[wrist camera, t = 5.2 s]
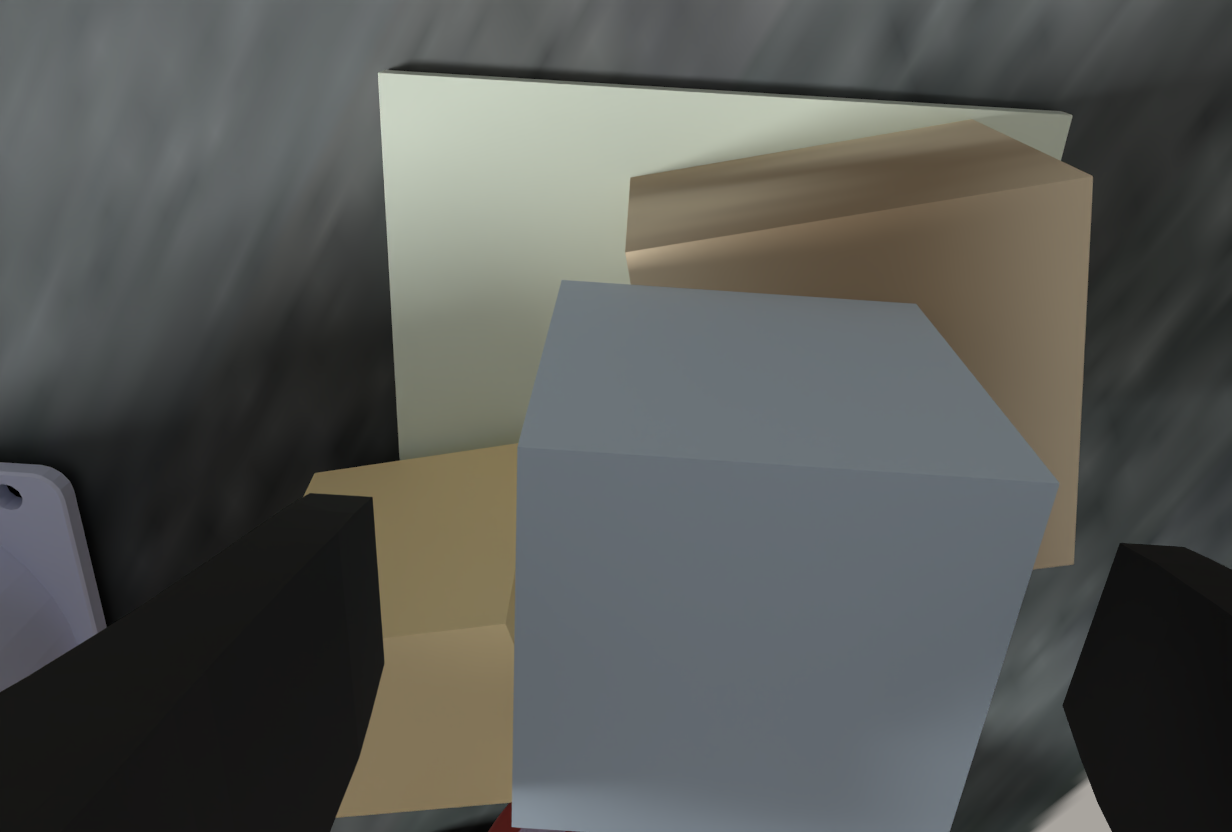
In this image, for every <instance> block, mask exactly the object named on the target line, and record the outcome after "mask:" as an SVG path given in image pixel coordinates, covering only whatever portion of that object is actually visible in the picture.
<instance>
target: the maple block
mask: <svg viewBox="0 0 1232 832" xmlns="http://www.w3.org/2000/svg"><path fill="white" fill-rule="evenodd" d="M1092 190H1093V176H1092V175H1090V174H1087V173H1085V172H1083V171H1081V170H1079V169H1077V168H1075V167H1073V166H1071V165H1068V164H1066V163H1064V162H1062V161H1060V160H1058V159H1056V158H1054V157H1051V156H1049V155H1047V154H1045V153H1043V152H1041V151H1039V150H1037V149H1035V148H1032V147H1030V146H1028V145H1026V144H1024V143H1022V142H1020V141H1018V140H1015V139H1013V138H1011V137H1009V136H1007V135H1005V134H1003V133H1001V132H998V131H996V130H994V129H992V128H990V127H988V126H986V125H984V124H982V123H979V122H977V121H975V120H973V119H970V120H964V121H958V122H952V123H946V124H940V125H935V126H929V127H923V128H917V129H911V130H905V131H900V132H894V133H888V134H882V135H876V136H870V137H864V138H859V139H853V140H847V141H841V142H835V143H829V144H824V145H818V146H812V147H806V148H800V149H794V150H788V151H783V152H777V153H771V154H765V155H759V156H753V157H748V158H742V159H736V160H730V161H724V162H718V163H712V164H707V165H701V166H695V167H689V168H683V169H677V170H671V171H666V172H660V173H654V174H648V175H642V176H636V177H631V178H630V190H629V204H628V218H627V233H626V247H625V255H626V260H627V266H628V272H629V277H630V283H631V285H644V286H659V287H674V288H689V289H704V290H719V291H733V292H748V293H763V294H778V295H793V296H808V297H823V298H837V299H852V300H867V301H882V302H897V303H912V304H917V305H918V307H919V308H920V309H921V310H922V312H923V313H924V314H925V315H926V317H927V318H928V319H929V320H930V322H931V323H932V324H933V325H934V327H935V328H936V329H937V330H938V332H939V333H940V334H941V335H942V337H943V338H944V339H945V340H946V342H947V343H948V344H949V345H950V347H951V348H952V349H953V350H954V352H955V353H956V354H957V355H958V357H959V358H960V359H961V360H962V362H963V363H964V364H965V365H966V367H967V368H968V369H969V370H970V372H971V373H972V374H973V375H974V377H975V378H976V379H977V380H978V382H979V383H980V384H981V385H982V387H983V388H984V389H985V390H986V392H987V393H988V394H989V395H990V397H991V398H992V399H993V400H994V402H995V403H996V404H997V405H998V407H999V408H1000V409H1001V410H1002V412H1003V413H1004V414H1005V415H1006V417H1007V418H1008V419H1009V420H1010V422H1011V423H1012V424H1013V425H1014V427H1015V428H1016V429H1017V430H1018V432H1019V433H1020V434H1021V435H1022V437H1023V438H1024V439H1025V440H1026V442H1027V443H1028V444H1029V445H1030V447H1031V448H1032V449H1033V450H1034V452H1035V453H1036V454H1037V455H1038V457H1039V458H1040V459H1041V460H1042V462H1043V463H1044V464H1045V465H1046V467H1047V468H1048V469H1049V470H1050V472H1051V473H1052V474H1053V475H1054V477H1055V478H1056V479H1057V480H1058V482H1059V483H1060V484H1059V488H1058V491H1057V494H1056V497H1055V500H1054V503H1053V506H1052V510H1051V513H1050V516H1049V519H1048V522H1047V525H1046V529H1045V532H1044V535H1043V538H1042V541H1041V544H1040V548H1039V551H1038V554H1037V557H1036V560H1035V563H1034V567H1033V569H1041V568H1049V567H1057V566H1066V565H1074V551H1075V531H1076V511H1077V491H1078V471H1079V451H1080V431H1081V411H1082V391H1083V370H1084V350H1085V330H1086V310H1087V290H1088V270H1089V250H1090V230H1091V210H1092Z"/></svg>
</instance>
